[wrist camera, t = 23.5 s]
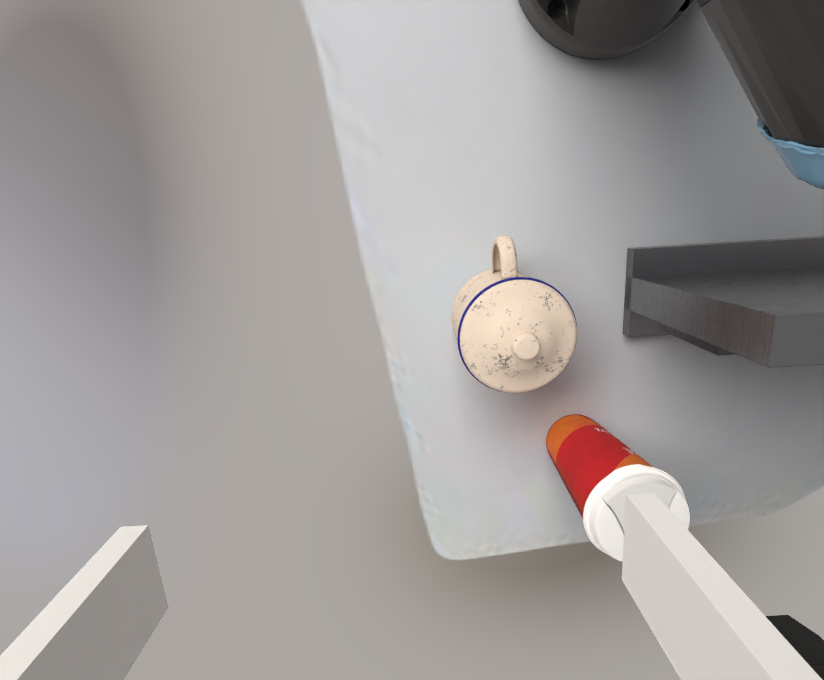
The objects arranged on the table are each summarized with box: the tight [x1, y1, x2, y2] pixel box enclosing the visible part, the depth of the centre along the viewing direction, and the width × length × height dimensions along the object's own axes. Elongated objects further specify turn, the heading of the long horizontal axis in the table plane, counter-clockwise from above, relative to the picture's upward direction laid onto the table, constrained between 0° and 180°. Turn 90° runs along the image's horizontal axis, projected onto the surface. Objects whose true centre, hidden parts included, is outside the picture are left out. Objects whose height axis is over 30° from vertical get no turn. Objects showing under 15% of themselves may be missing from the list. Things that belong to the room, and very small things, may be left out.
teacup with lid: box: [452, 236, 577, 393], centre depth 38 cm, size 12×9×12 cm
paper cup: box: [546, 414, 690, 562], centre depth 40 cm, size 8×8×14 cm
